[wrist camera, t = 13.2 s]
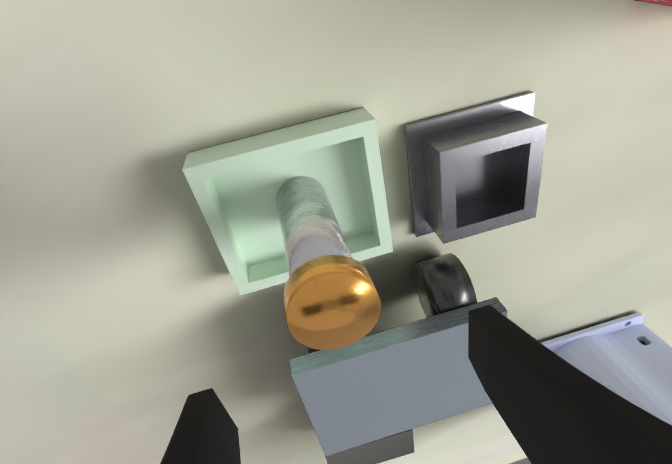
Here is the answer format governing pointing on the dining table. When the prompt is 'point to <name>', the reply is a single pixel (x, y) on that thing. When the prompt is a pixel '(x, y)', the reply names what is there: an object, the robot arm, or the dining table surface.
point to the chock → (376, 450)
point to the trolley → (398, 367)
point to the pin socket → (475, 168)
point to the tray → (271, 173)
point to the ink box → (658, 2)
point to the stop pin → (322, 272)
